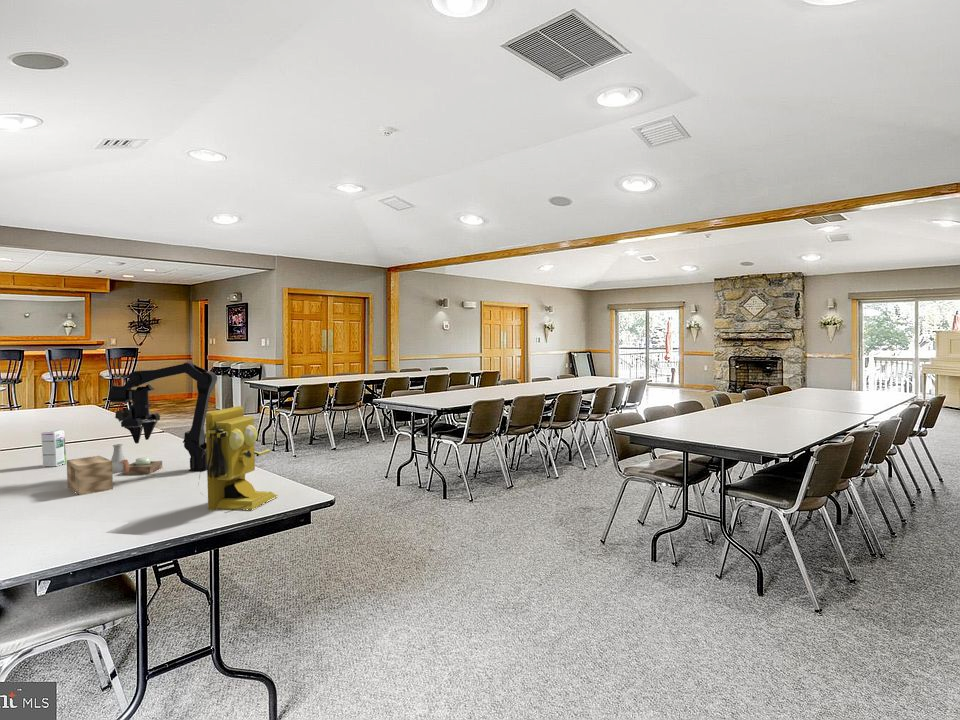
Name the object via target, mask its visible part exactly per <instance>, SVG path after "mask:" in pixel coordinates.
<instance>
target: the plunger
mask: <svg viewBox="0 0 960 720" xmlns="http://www.w3.org/2000/svg"><path fill="white" fill-rule="evenodd" d="M129 464H130V463H129V461H128V459H126V460H122V461H120V462H114V463H112V474H115V475H116V474H120V473H128V472H129Z"/></svg>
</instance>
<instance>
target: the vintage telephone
mask: <svg viewBox="0 0 960 720" xmlns="http://www.w3.org/2000/svg"><path fill="white" fill-rule="evenodd" d="M254 419H255V418H254V416H244V407H242V406H241V405H238V406H232V407H229V408H223V409H220V410H214V411H209V412H208V411H207V413H206V419H205V432H204V433H205V439H204V446H205V442H206V445H207V470H206V473H207V474H206V475H207V477H206V478H207V507H208V509H207V510H208V511H214V509H215V510H220V511H221V512H223V511H222V510H229V509H234V510H229V511H226V512H225V511H224V514H226V513H230V512H233V511H238V510H237V509H248V510H252V509H254V508H256V507H258V506H260V505H261V504H263V503H265V502H267V501H268V500H270V499H272V498H274V497H276V496H278V497H279V495H277V494H275V493H274V492H272V491H263V490H261V491H260V490H259V491H256V489H255V487H254V485H253V484H252V483H251V482H249V481H248V480H247V479H246V474H248V473H251V472H254V471H255V470H256V464H255V463H256V460H255V459H256V458H255V455H256V456H257V457H261V456H263V455H265V454H270V453H271V449H270V448H267V449H265V450H263V451H260V452H259V451H255V442H256V441H257V439H258V430H257V428H256V427H255V423H254V422H255V420H254ZM203 452H204V447H203ZM202 459H203V454H202ZM201 465H202V461H201ZM199 473H202V471H201V469H200V471H199ZM200 477H201V475H199V477H198V479H200ZM198 486H199V483H198ZM201 495H202V496H204V494H203V493H201ZM267 503H268V502H267ZM265 504H266V503H265ZM263 505H264V504H263ZM261 506H262V505H261ZM261 506H260V507H261ZM216 508H217V509H216ZM258 508H259V507H258ZM256 509H257V508H256ZM248 510H247V511H248ZM254 510H255V509H254ZM252 511H253V510H252Z"/></svg>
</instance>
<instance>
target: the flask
mask: <svg viewBox="0 0 960 720" xmlns="http://www.w3.org/2000/svg"><path fill="white" fill-rule="evenodd" d="M122 446H123V444H122V443H115V444H113V445H112V447H113V453H112V456H111V459H110V460H111V461H112V463H114V462H120V461H122V460H127V459H126V457H125V455H124V453H123V447H122Z"/></svg>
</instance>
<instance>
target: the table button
mask: <svg viewBox="0 0 960 720" xmlns="http://www.w3.org/2000/svg"><path fill="white" fill-rule="evenodd" d="M150 461H151V457H138V458H136V459H135V462H136V466H141V465H149V464H150Z"/></svg>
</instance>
